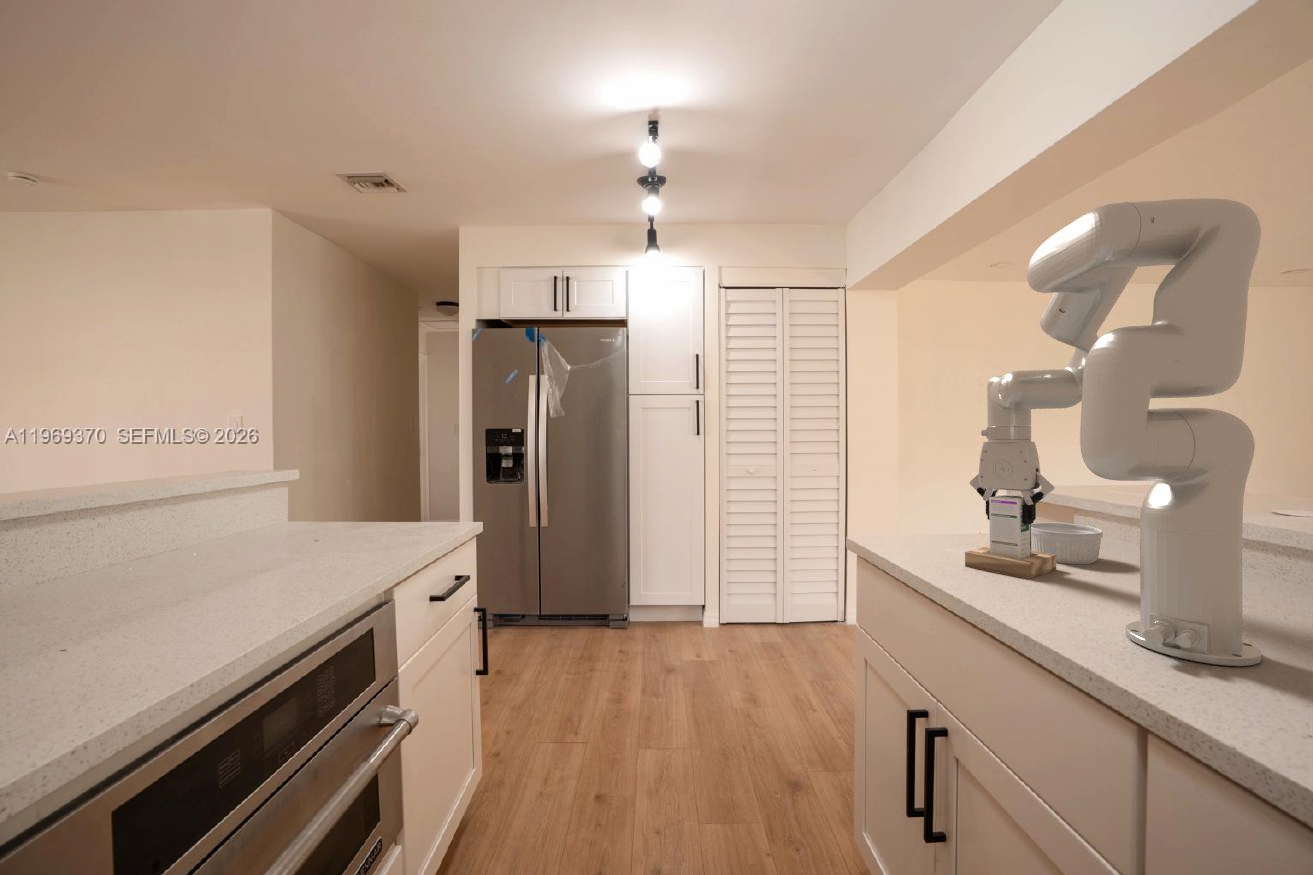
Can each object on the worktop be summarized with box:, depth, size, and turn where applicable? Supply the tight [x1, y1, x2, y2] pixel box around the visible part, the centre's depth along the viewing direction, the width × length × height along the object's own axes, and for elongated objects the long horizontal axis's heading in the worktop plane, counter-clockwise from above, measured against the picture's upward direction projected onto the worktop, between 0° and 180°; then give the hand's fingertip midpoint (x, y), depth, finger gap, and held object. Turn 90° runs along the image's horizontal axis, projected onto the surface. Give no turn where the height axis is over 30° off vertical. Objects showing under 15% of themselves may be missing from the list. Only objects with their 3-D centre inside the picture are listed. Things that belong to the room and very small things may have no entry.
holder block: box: [964, 545, 1057, 580], centre depth 110 cm, size 12×12×3 cm
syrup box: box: [989, 494, 1032, 560], centre depth 109 cm, size 6×6×14 cm
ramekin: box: [1031, 521, 1104, 565], centre depth 117 cm, size 13×13×7 cm
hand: (1010, 520), depth 109 cm, fingers open, 6 cm apart
